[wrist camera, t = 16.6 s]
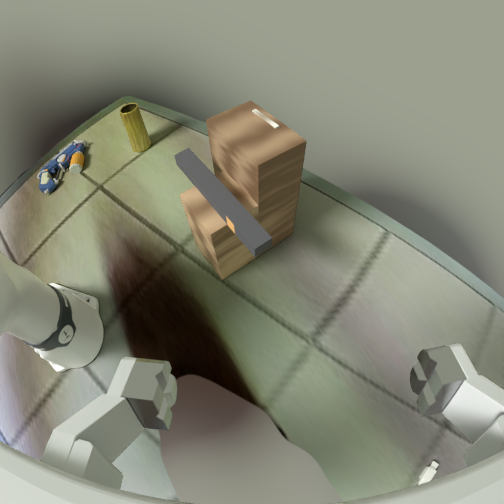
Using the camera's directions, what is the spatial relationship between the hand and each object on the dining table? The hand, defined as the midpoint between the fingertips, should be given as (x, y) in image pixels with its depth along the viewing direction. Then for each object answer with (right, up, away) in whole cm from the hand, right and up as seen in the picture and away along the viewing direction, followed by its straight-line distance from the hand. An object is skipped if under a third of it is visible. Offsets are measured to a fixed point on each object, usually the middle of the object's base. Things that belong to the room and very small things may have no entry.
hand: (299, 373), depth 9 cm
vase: (-34, +35, +73) cm, 88 cm away
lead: (-7, +12, +40) cm, 42 cm away
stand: (-4, +8, +57) cm, 58 cm away
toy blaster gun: (-60, +29, +71) cm, 97 cm away
